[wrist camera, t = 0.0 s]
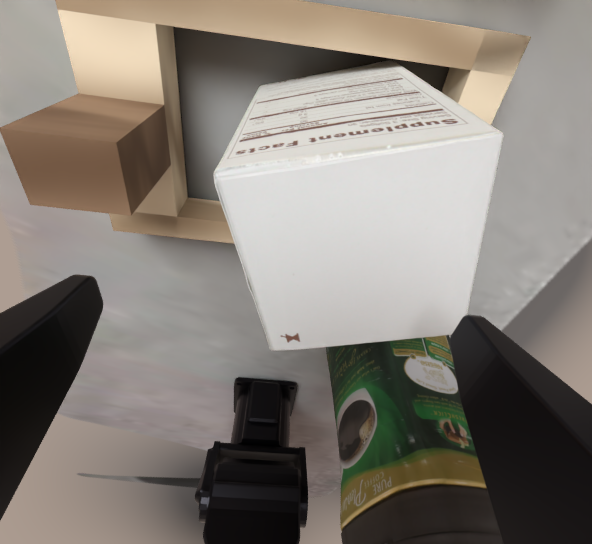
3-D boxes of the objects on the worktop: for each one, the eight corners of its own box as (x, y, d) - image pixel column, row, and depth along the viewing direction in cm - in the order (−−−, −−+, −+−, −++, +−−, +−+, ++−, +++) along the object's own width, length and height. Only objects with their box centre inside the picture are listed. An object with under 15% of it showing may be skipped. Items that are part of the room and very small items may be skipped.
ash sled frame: (416, 242, 24) (456, 327, 18) (129, 210, 23) (65, 290, 17) (504, 31, 17) (626, 53, 10) (78, -35, 15) (-77, -56, 9)
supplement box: (393, 187, 22) (466, 341, 12) (280, 202, 23) (264, 358, 13) (396, 54, 17) (518, 129, 8) (255, 79, 18) (201, 175, 8)
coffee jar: (389, 355, 33) (457, 636, 18) (313, 336, 31) (322, 628, 17) (451, 285, 27) (620, 612, 13) (361, 256, 26) (439, 595, 11)
